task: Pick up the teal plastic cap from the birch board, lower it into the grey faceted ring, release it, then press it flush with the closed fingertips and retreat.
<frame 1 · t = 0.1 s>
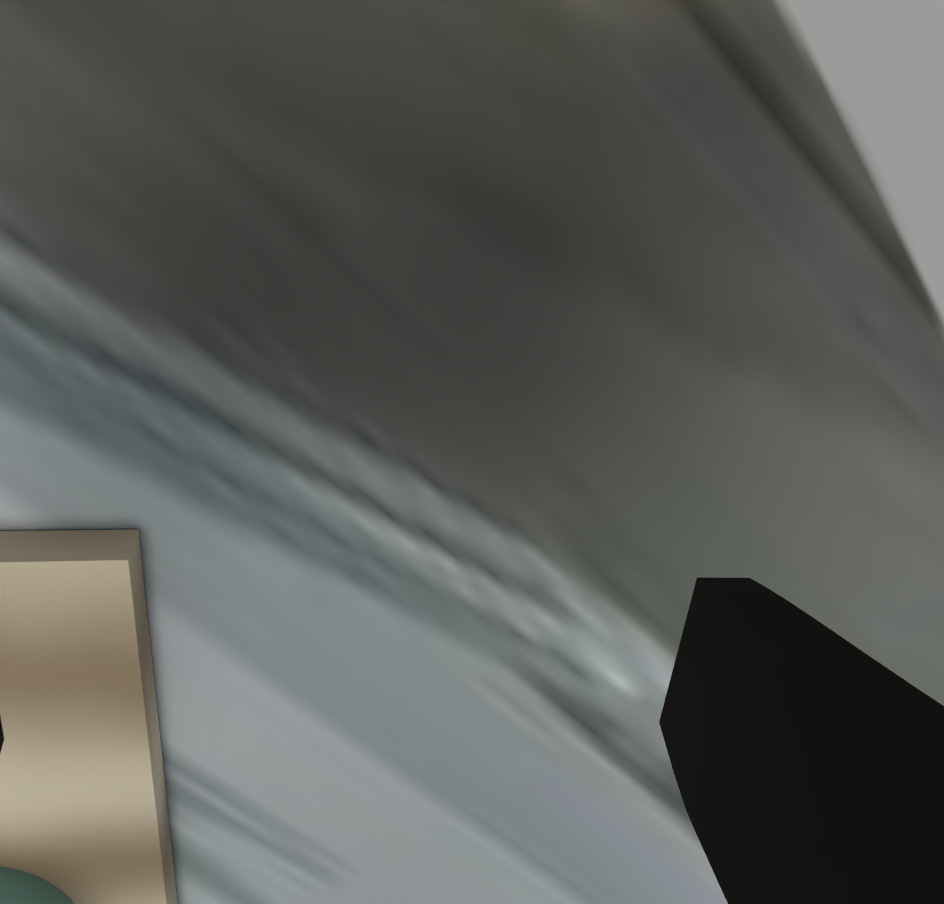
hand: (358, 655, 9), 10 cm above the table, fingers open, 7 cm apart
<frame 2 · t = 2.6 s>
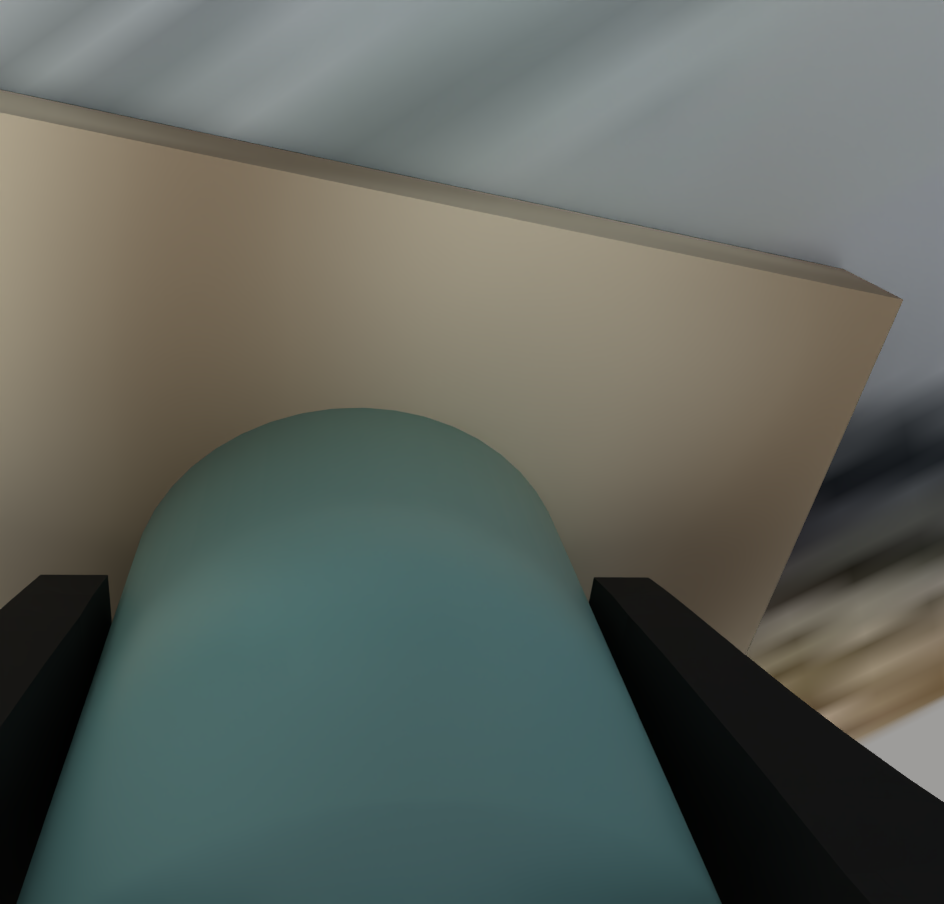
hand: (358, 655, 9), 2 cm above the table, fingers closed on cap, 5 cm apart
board: (76, 848, 13), on the table
cap: (355, 603, 10), point 1 cm above the table, touching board, gripper
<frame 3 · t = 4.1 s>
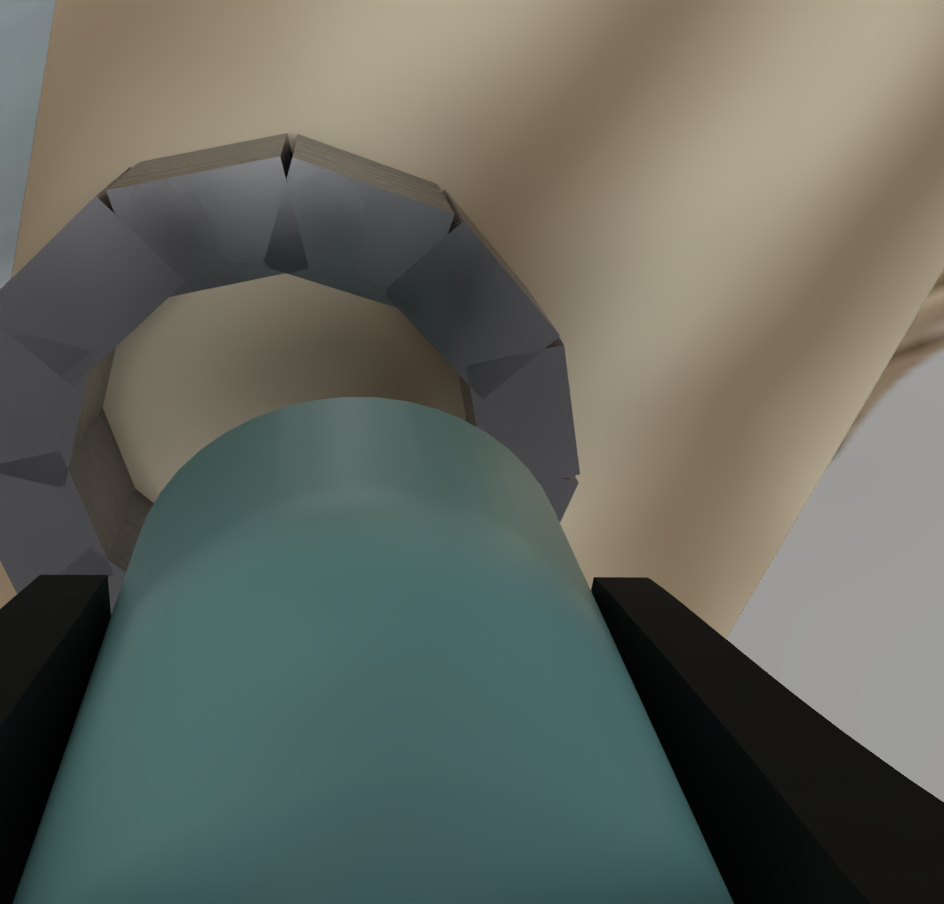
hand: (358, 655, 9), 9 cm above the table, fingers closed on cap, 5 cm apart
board: (495, 269, 17), on the table
grey faceted ring: (293, 387, 18), resting on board
cap: (356, 594, 10), point 8 cm above the table, touching gripper
when the fingers open (4 cm above the table, at t = 6.0 s): cap drops 2 cm, resting on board.
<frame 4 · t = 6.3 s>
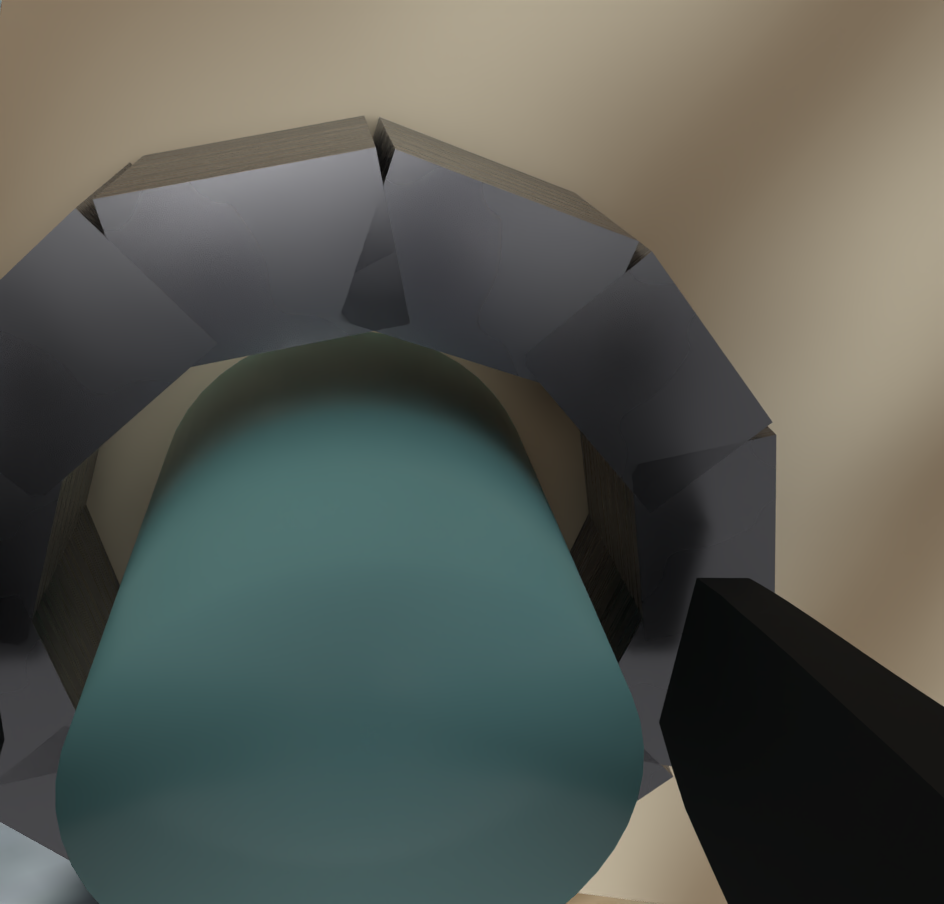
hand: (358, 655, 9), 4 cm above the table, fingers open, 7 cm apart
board: (630, 310, 12), on the table
grey faceted ring: (347, 467, 13), resting on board
cap: (350, 503, 12), point 1 cm above the table, touching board
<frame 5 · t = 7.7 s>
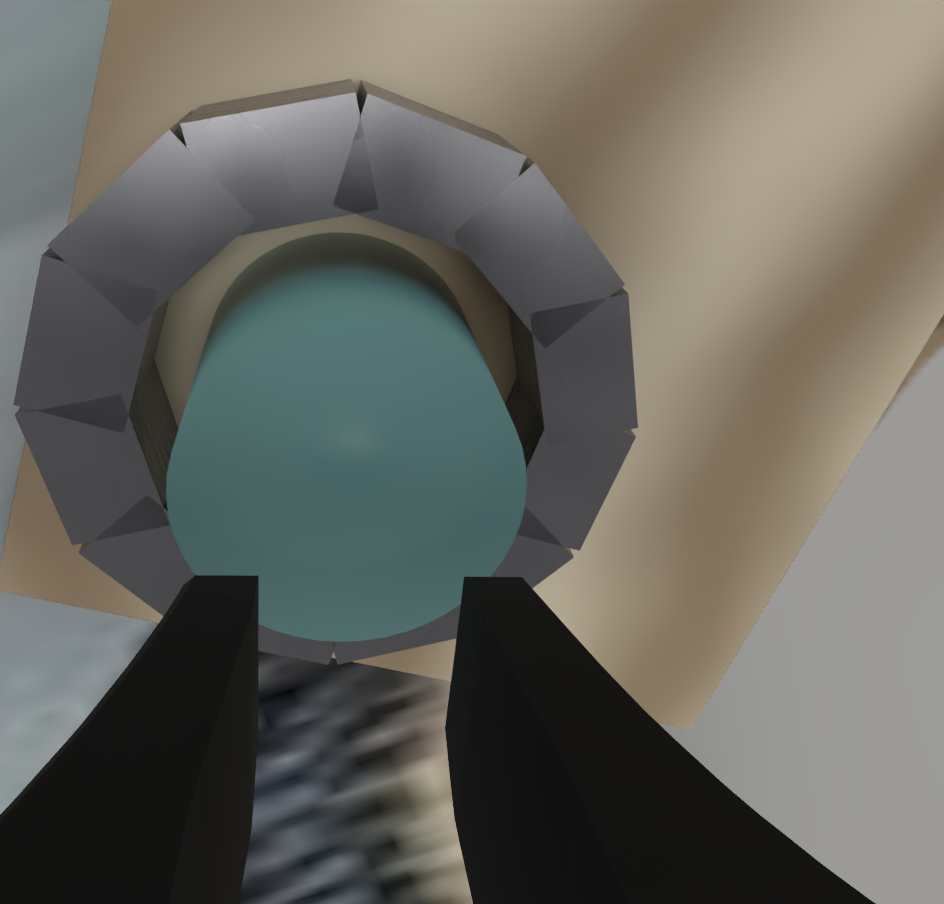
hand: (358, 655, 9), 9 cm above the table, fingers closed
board: (547, 227, 17), on the table
grey faceted ring: (340, 345, 17), resting on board
cap: (342, 363, 16), point 1 cm above the table, touching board
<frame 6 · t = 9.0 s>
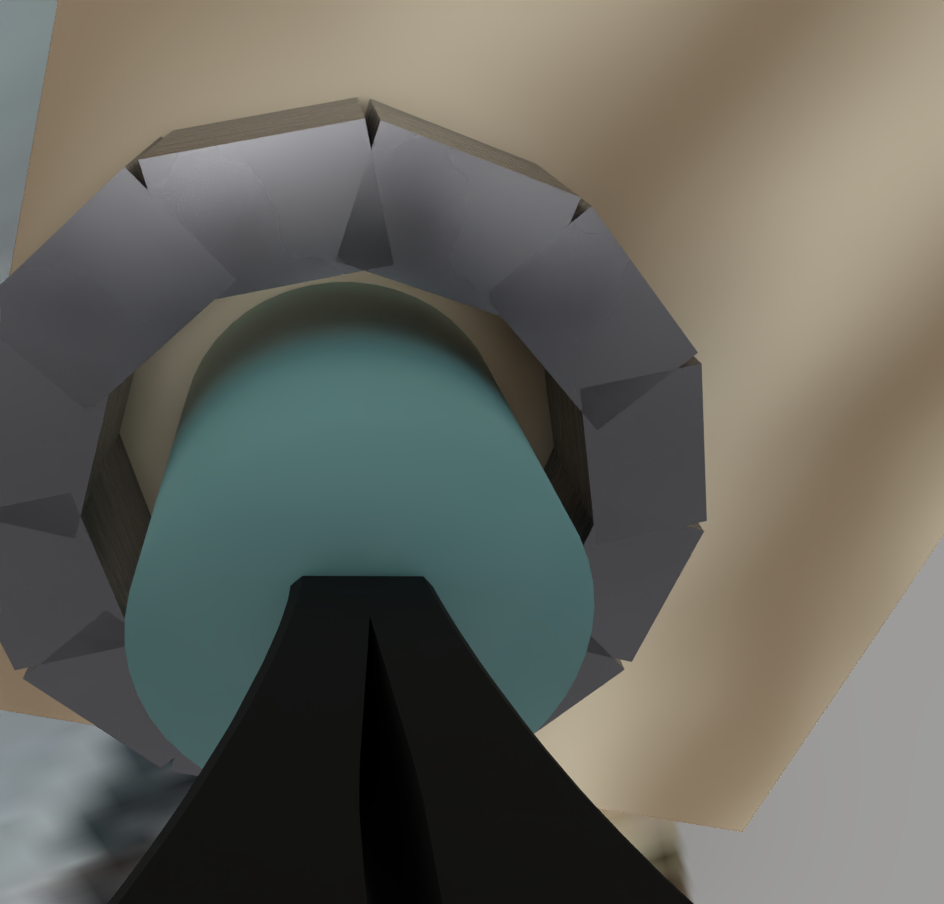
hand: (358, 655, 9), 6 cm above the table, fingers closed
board: (589, 269, 14), on the table
grey faceted ring: (344, 408, 15), resting on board
cap: (346, 436, 14), point 1 cm above the table, touching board
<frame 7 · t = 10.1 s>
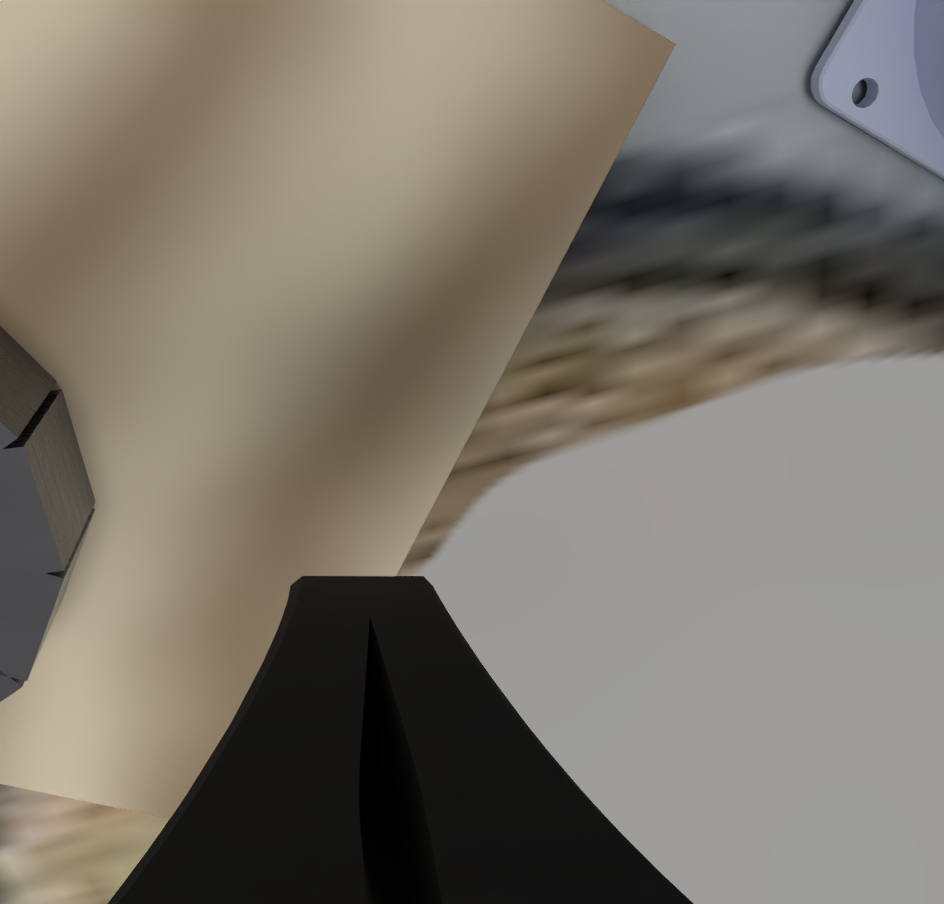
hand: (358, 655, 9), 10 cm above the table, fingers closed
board: (49, 352, 17), on the table
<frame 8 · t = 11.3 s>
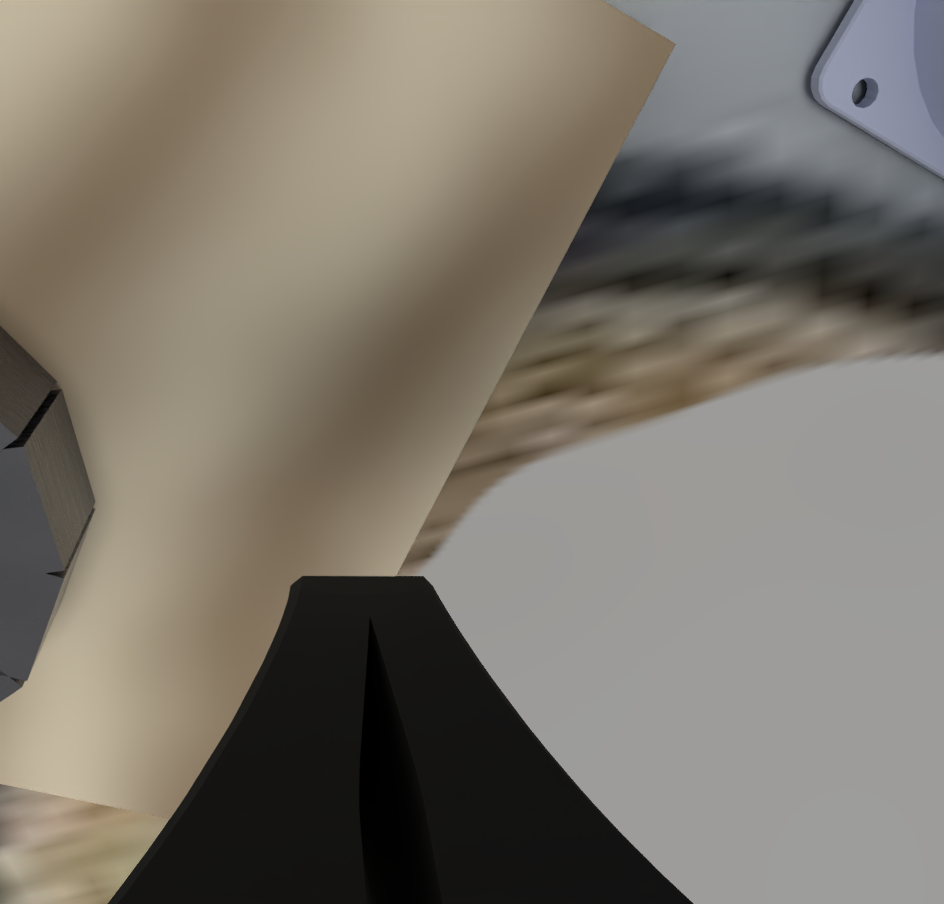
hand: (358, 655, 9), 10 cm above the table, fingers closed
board: (49, 352, 17), on the table
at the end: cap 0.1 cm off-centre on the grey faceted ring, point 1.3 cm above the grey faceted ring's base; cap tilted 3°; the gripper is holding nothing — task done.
